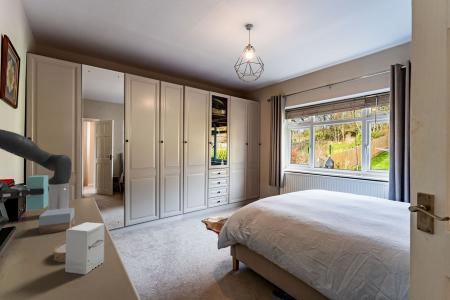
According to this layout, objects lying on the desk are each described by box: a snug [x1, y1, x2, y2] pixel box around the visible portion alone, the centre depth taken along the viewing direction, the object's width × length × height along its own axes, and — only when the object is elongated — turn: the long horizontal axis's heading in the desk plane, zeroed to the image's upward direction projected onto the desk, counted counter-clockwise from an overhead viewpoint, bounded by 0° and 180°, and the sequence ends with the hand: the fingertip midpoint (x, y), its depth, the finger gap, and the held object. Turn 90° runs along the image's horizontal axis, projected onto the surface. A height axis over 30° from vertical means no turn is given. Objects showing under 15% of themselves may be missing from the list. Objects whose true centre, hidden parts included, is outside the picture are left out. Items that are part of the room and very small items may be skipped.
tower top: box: [38, 207, 75, 227], centre depth 101 cm, size 11×11×4 cm
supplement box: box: [64, 221, 105, 275], centre depth 67 cm, size 7×7×13 cm
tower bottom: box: [38, 215, 76, 235], centre depth 101 cm, size 11×11×4 cm
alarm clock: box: [52, 241, 66, 263], centre depth 77 cm, size 11×5×15 cm
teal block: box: [26, 174, 49, 211], centre depth 84 cm, size 5×5×12 cm
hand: (46, 190), depth 85 cm, fingers closed on teal block, 5 cm apart
